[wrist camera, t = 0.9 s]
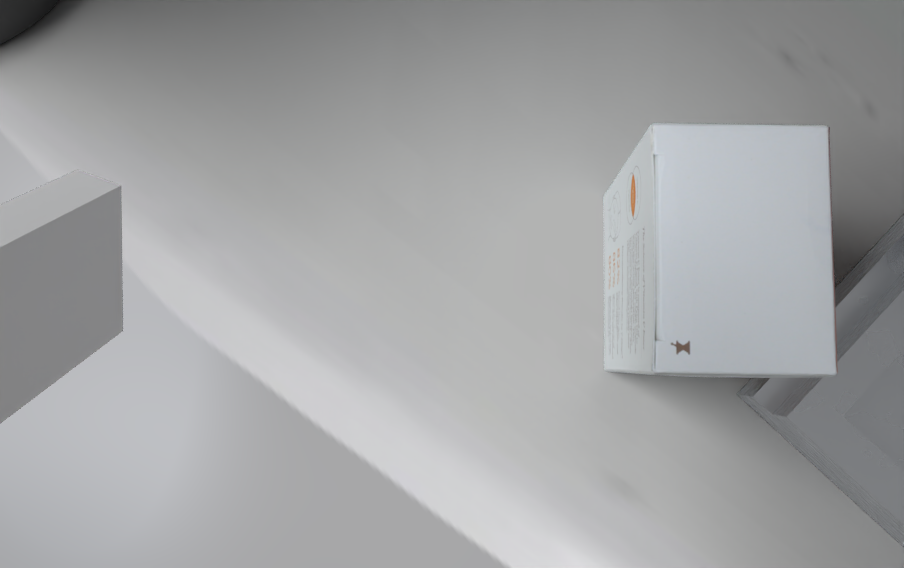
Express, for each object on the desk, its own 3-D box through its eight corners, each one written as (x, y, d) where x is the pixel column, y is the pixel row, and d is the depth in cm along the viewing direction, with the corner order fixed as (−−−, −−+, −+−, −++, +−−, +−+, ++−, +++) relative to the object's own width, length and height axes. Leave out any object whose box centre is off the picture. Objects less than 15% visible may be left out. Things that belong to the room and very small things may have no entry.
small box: (730, 375, 33) (843, 384, 22) (599, 372, 33) (651, 380, 23) (728, 193, 34) (837, 120, 23) (600, 191, 34) (651, 118, 23)
